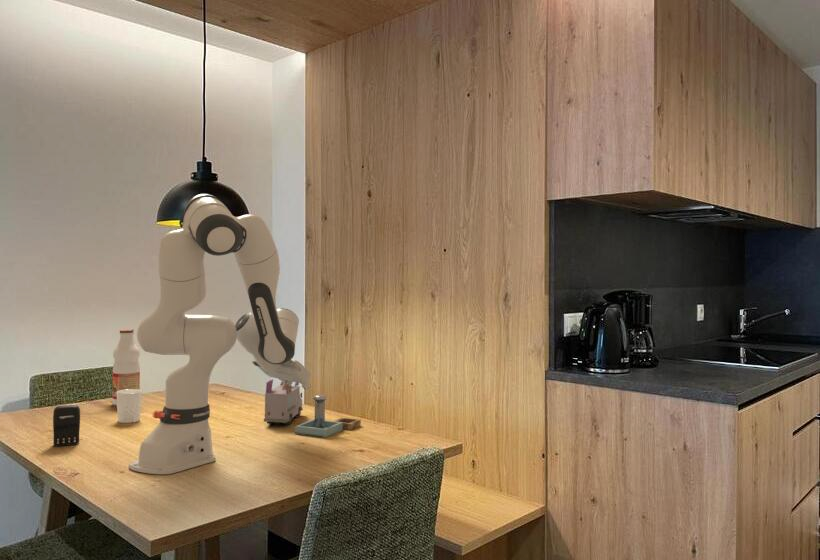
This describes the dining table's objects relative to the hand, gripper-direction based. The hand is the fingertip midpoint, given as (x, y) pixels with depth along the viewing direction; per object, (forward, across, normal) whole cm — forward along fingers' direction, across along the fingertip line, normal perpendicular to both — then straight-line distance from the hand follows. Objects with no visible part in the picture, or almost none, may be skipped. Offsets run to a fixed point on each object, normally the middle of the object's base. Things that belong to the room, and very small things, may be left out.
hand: (298, 386), depth 202 cm
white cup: (-11, +52, +33) cm, 63 cm away
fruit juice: (-4, +80, +26) cm, 84 cm away
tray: (+16, -2, +6) cm, 17 cm away
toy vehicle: (+16, +19, +6) cm, 25 cm away
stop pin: (+15, -2, +5) cm, 16 cm away
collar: (+24, -2, -2) cm, 24 cm away
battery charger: (-29, +34, +51) cm, 68 cm away
